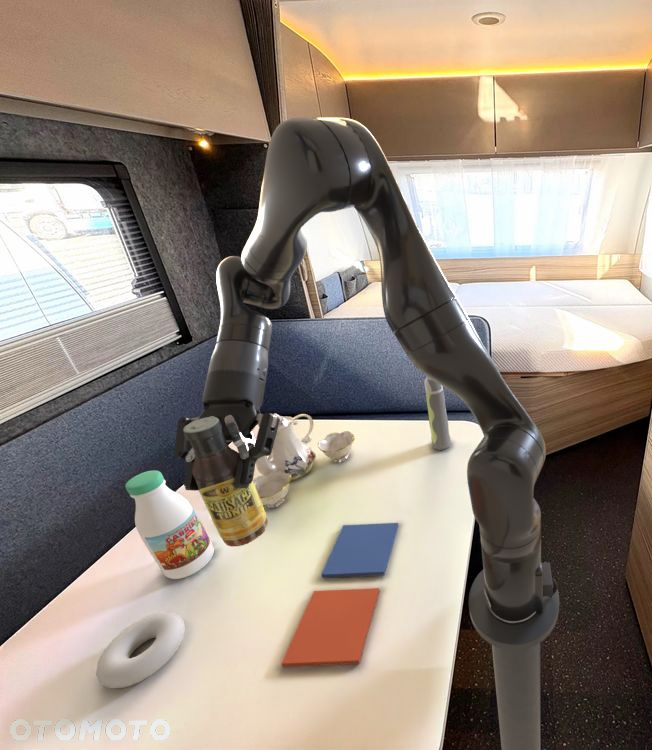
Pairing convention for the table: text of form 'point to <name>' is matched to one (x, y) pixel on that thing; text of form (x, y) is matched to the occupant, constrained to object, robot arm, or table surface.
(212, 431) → the sauce bottle
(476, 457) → the robot arm
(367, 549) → the slate-blue mat
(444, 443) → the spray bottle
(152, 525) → the milk bottle
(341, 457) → the chinaware
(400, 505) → the table surface
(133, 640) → the donut
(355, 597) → the terracotta mat
